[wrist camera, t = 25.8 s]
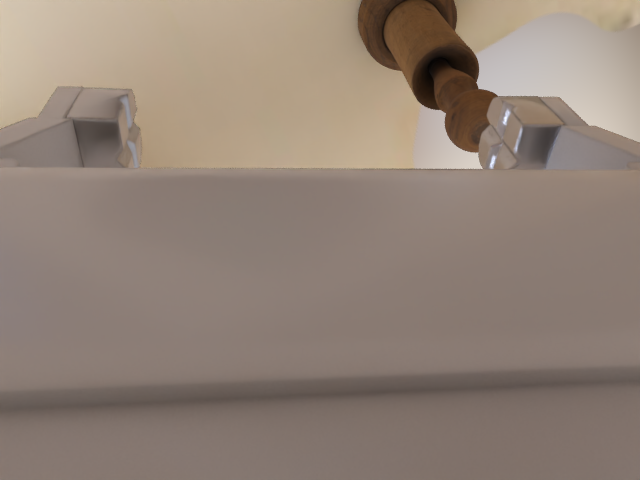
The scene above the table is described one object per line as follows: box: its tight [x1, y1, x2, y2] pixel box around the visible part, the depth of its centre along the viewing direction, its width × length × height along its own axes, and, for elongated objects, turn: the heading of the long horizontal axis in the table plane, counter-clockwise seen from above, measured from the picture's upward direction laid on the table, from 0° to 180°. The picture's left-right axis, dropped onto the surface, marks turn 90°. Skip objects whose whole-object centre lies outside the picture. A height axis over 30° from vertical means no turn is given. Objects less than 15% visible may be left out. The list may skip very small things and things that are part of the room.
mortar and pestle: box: [358, 0, 498, 152], centre depth 33 cm, size 7×6×18 cm
